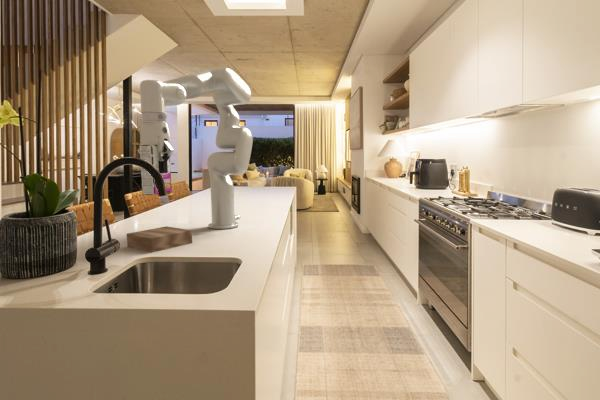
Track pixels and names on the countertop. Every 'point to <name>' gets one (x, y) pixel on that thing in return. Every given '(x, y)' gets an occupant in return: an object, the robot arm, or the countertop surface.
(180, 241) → the walnut block
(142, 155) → the candy bar box
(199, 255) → the countertop surface
